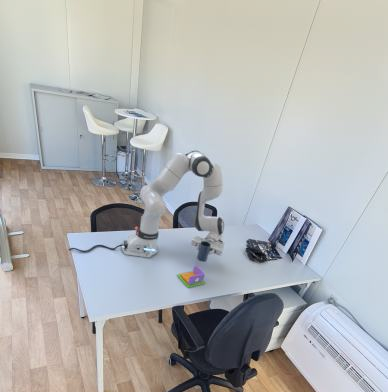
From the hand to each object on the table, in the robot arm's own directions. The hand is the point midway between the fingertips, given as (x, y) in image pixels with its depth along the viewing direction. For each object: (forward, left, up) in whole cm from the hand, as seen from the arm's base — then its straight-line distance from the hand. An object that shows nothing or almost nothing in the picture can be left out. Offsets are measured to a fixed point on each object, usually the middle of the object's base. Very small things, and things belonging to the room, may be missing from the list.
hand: (203, 251), depth 172 cm
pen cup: (+1, +1, -6) cm, 6 cm away
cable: (+48, +17, -14) cm, 53 cm away
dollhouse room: (-8, -10, -14) cm, 19 cm away
